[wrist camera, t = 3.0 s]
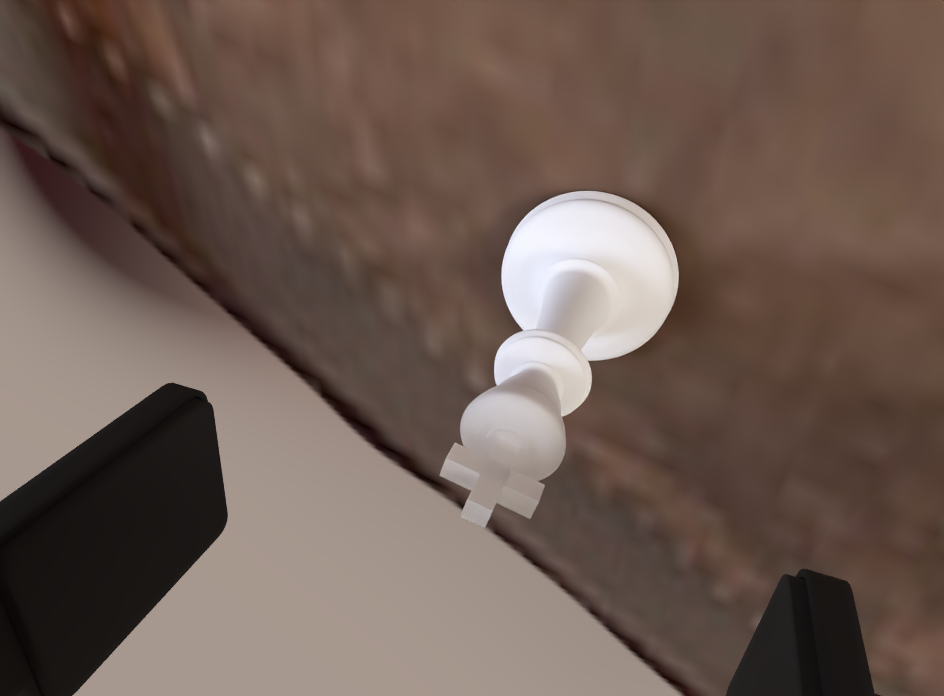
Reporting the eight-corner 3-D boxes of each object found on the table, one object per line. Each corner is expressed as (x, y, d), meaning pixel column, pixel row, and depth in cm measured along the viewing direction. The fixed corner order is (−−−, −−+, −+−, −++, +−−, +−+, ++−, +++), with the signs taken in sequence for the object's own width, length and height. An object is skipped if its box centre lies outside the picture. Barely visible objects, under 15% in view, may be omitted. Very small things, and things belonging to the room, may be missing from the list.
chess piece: (633, 377, 20) (563, 666, 11) (484, 311, 20) (317, 541, 12) (712, 233, 17) (694, 476, 9) (537, 162, 18) (367, 327, 9)
